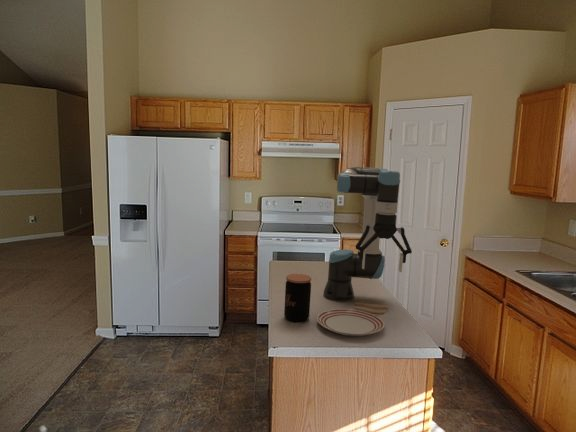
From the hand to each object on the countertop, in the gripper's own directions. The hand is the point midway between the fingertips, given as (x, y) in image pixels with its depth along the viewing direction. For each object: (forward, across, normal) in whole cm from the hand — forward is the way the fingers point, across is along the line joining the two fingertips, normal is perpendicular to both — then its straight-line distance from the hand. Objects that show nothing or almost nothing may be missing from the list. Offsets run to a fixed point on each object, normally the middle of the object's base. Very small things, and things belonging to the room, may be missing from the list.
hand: (381, 269), depth 150 cm
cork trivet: (+28, 0, +34) cm, 44 cm away
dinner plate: (+28, -10, +10) cm, 31 cm away
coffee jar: (+28, -32, +13) cm, 44 cm away
